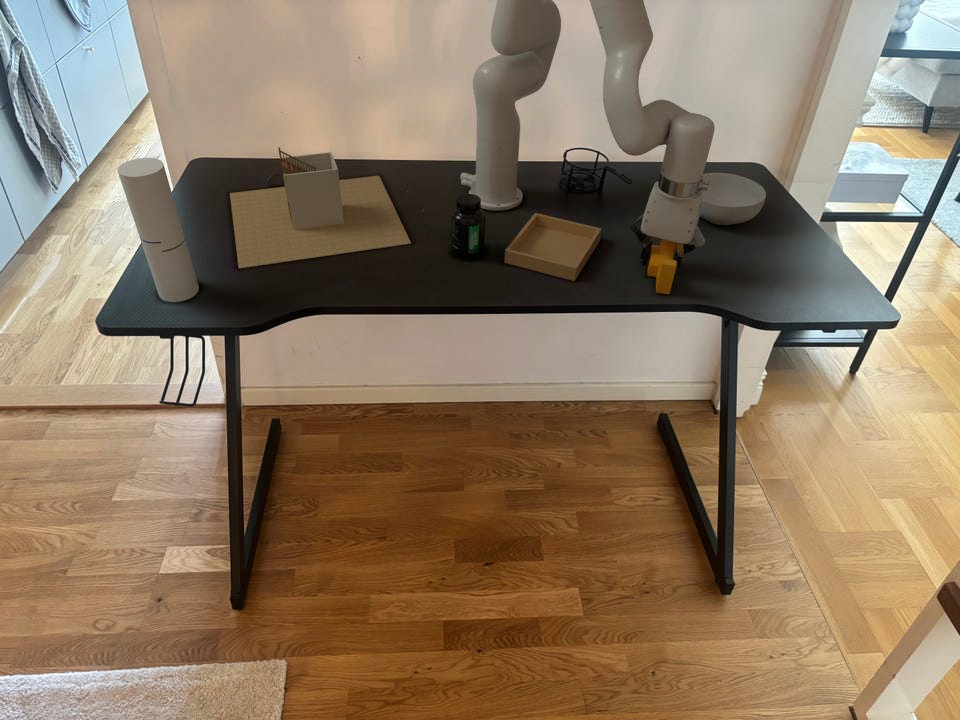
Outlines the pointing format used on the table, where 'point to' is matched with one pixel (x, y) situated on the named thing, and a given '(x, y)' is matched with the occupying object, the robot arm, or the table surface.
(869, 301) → the table surface
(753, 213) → the cereal bowl
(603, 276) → the table surface
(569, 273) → the tray
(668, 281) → the yellow stepped block
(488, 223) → the table surface
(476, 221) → the supplement bottle
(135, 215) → the cylindrical container
